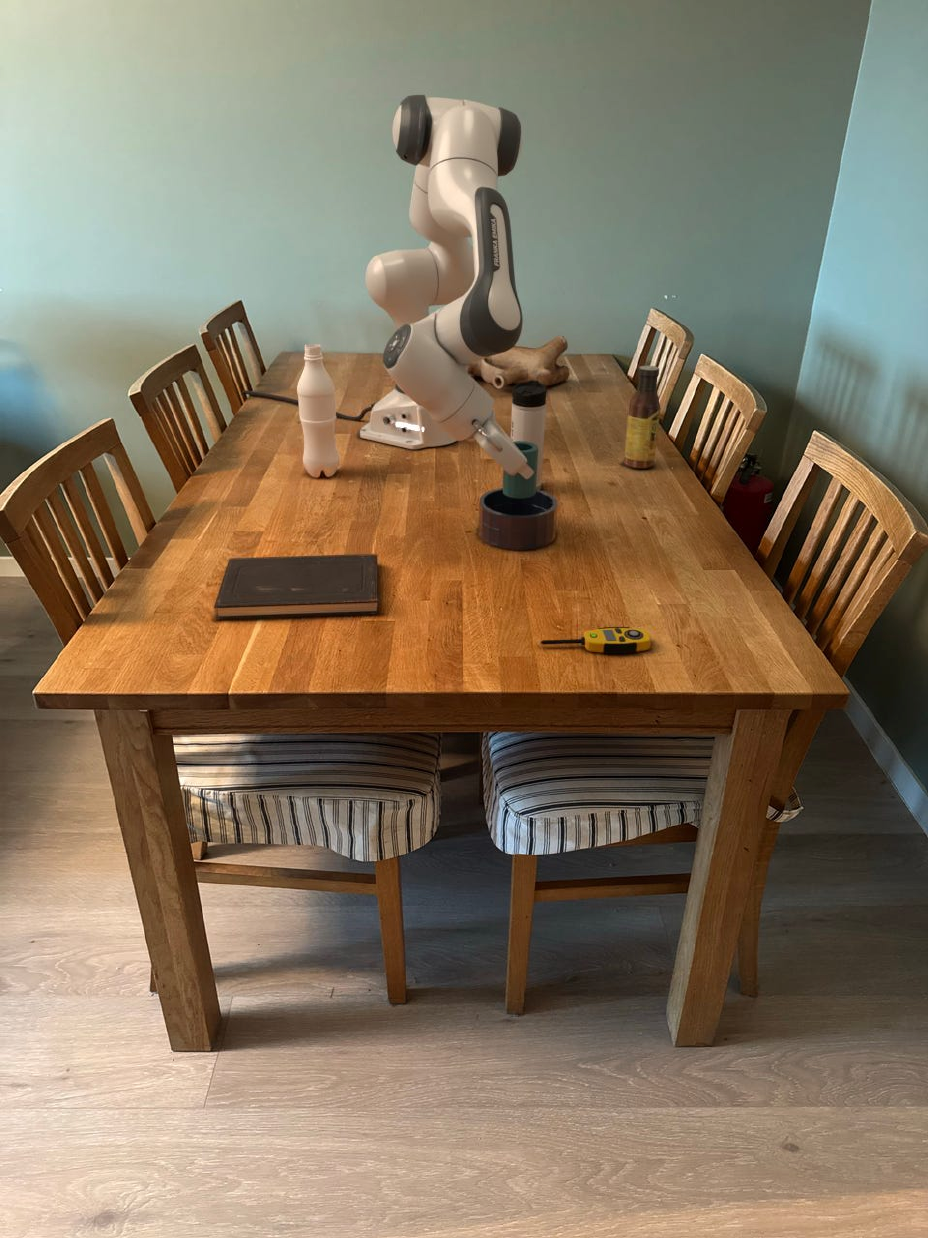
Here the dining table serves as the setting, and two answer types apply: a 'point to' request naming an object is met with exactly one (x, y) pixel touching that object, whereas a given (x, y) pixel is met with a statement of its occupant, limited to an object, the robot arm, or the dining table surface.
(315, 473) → the water bottle
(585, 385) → the dining table surface
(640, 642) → the yellow walkie talkie
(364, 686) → the dining table surface
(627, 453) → the sauce bottle
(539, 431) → the travel mug
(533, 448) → the teal hollow cylinder
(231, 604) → the hardcover book
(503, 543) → the pot
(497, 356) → the ceramic vessel
